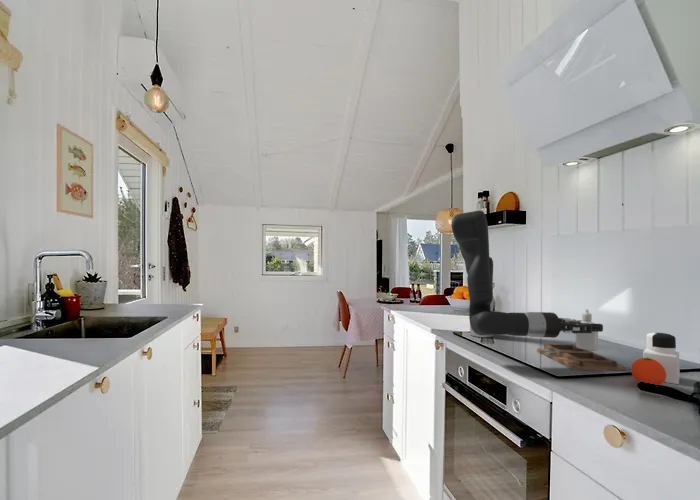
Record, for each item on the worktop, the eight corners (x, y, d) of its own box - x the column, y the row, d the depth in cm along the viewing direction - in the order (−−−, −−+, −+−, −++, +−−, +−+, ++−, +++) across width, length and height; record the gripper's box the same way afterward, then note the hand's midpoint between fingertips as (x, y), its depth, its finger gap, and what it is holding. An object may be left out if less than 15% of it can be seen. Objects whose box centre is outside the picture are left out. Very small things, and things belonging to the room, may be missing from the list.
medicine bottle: (679, 378, 100) (678, 333, 100) (678, 384, 94) (677, 337, 95) (645, 372, 104) (645, 330, 105) (643, 378, 99) (642, 333, 100)
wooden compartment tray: (536, 351, 129) (536, 344, 129) (580, 351, 129) (580, 344, 129) (572, 369, 107) (572, 361, 107) (625, 370, 107) (625, 361, 107)
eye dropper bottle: (588, 347, 115) (588, 308, 115) (600, 351, 109) (600, 310, 110) (574, 346, 115) (574, 308, 115) (585, 351, 109) (585, 310, 110)
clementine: (628, 378, 99) (628, 352, 99) (662, 383, 95) (661, 355, 96) (633, 387, 92) (633, 358, 92) (669, 392, 89) (669, 362, 89)
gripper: (550, 315, 106) (611, 316, 105) (528, 309, 120) (581, 310, 120) (551, 341, 106) (611, 343, 105) (528, 332, 120) (581, 333, 119)
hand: (595, 325), depth 112 cm, fingers closed on eye dropper bottle, 5 cm apart
